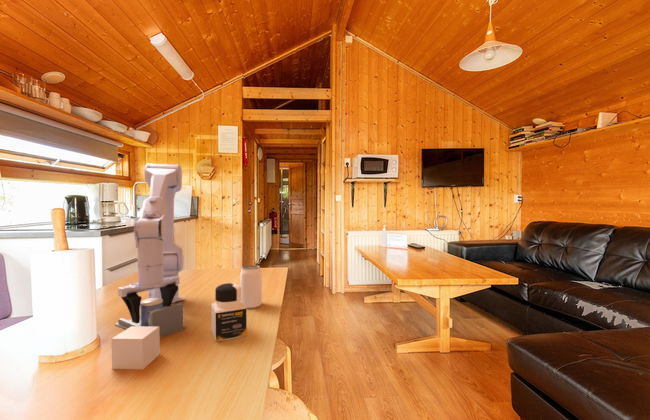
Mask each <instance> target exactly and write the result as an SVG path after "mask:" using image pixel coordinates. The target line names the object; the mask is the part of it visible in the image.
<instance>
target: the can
mask: <svg viewBox="0 0 650 420" xmlns="http://www.w3.org/2000/svg"><path fill="white" fill-rule="evenodd" d="M239 274H240V276H239V280H240V282H239V285H240V286H241V301H242V303H243V304H244V305H245V306H246V309H247V310H249V309H256V308H260V306H261V305H262V297H263V295H262V294H263V292H262V289H263V288H262V287H263V284H262V283H263V282H262V281H263V280H262V278H263V277H262V276H263V275H262V274H263V273H262V270H261V266H260V265H256V264H255V265H253V264H250V265H243V266H242V267H241V270H240V273H239Z"/></svg>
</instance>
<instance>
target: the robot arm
mask: <svg viewBox="0 0 650 420" xmlns="http://www.w3.org/2000/svg"><path fill="white" fill-rule="evenodd" d="M182 172H183V170H182V166H181V165H180V164H179V163H177V164H166V163H163V164H162V163H161V164H160V163H150V162H149V163H146V164H145V166H144V180H145V181H146V184H147V186H148V188H149V190H150V191H149V197H146V198H145V199H144V200H143V204H142V209H141V211H140V212H141V213H140V217H139V218H138V219H137V220H135V221H134V225H133V236H134V241H135V248H136V249H137V282H134V283H131V284H128V285H125V286H121V287H118V288H117V290H118V292H117V295H118V297H120V298H121V300H123V302H124V304H125V305H126V307H127V309H128V311H129V315H130V318H131V319H132V322H134V323H139V321H140V316H141V315H140V303H141V301H142V299H143V298H142V296H140V295H139V293H142V292H143V293H144V292H147V293H148V295H147V296H148V297H147V299H151V298H161V299H163V307H165V306H166V307H168V306H171V305H173V303H177V302H182V301H184V300H185V297H182V296H180V292H179V291H180V290H179V285H180V276H179V273H181V272H182V271H183V270H184V251H183V248H182V247H181V246H179V244H177V243H175V242H174V240H175V234H174V233H175V230H174V229H175V224H174V223H175V220H174V219H175V196H176V193H179V192H180V191H182V186H183V182H182V181H183V180H182V178H183V173H182Z"/></svg>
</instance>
